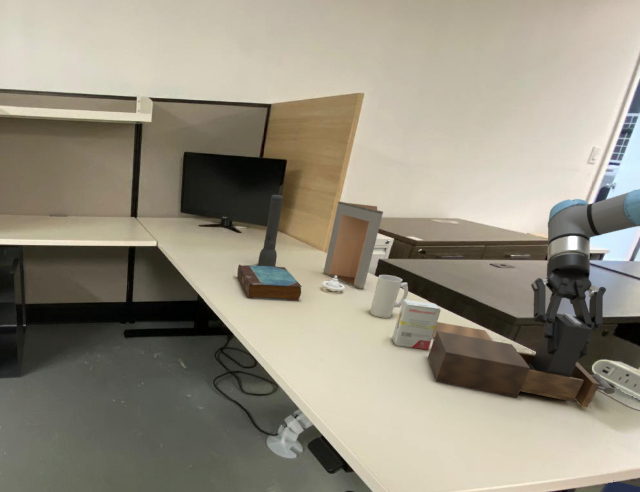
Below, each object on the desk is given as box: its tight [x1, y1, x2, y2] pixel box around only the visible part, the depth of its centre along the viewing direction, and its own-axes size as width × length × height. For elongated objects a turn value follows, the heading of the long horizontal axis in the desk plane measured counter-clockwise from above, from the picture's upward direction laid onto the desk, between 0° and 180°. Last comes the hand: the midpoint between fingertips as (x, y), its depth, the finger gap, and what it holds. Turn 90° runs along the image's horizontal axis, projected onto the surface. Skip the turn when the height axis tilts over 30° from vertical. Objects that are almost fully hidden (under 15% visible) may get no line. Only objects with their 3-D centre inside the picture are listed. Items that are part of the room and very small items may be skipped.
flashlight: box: [257, 194, 284, 267], centre depth 185 cm, size 7×28×7 cm
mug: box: [369, 274, 409, 319], centre depth 145 cm, size 10×7×12 cm, turn 89°
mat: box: [432, 321, 493, 341], centre depth 136 cm, size 16×14×1 cm
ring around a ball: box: [321, 275, 346, 293], centre depth 166 cm, size 8×6×8 cm
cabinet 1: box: [322, 201, 384, 290], centre depth 175 cm, size 21×10×28 cm, turn 23°
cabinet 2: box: [427, 331, 530, 399], centre depth 110 cm, size 17×14×8 cm
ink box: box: [391, 299, 442, 350], centre depth 125 cm, size 9×5×12 cm, turn 78°
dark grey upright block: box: [528, 312, 592, 377], centre depth 103 cm, size 5×9×15 cm, turn 161°
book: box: [236, 264, 303, 302], centre depth 162 cm, size 23×18×5 cm
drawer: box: [517, 351, 615, 408], centre depth 106 cm, size 20×12×6 cm, turn 71°
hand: (566, 353), depth 100 cm, fingers closed on dark grey upright block, 4 cm apart
